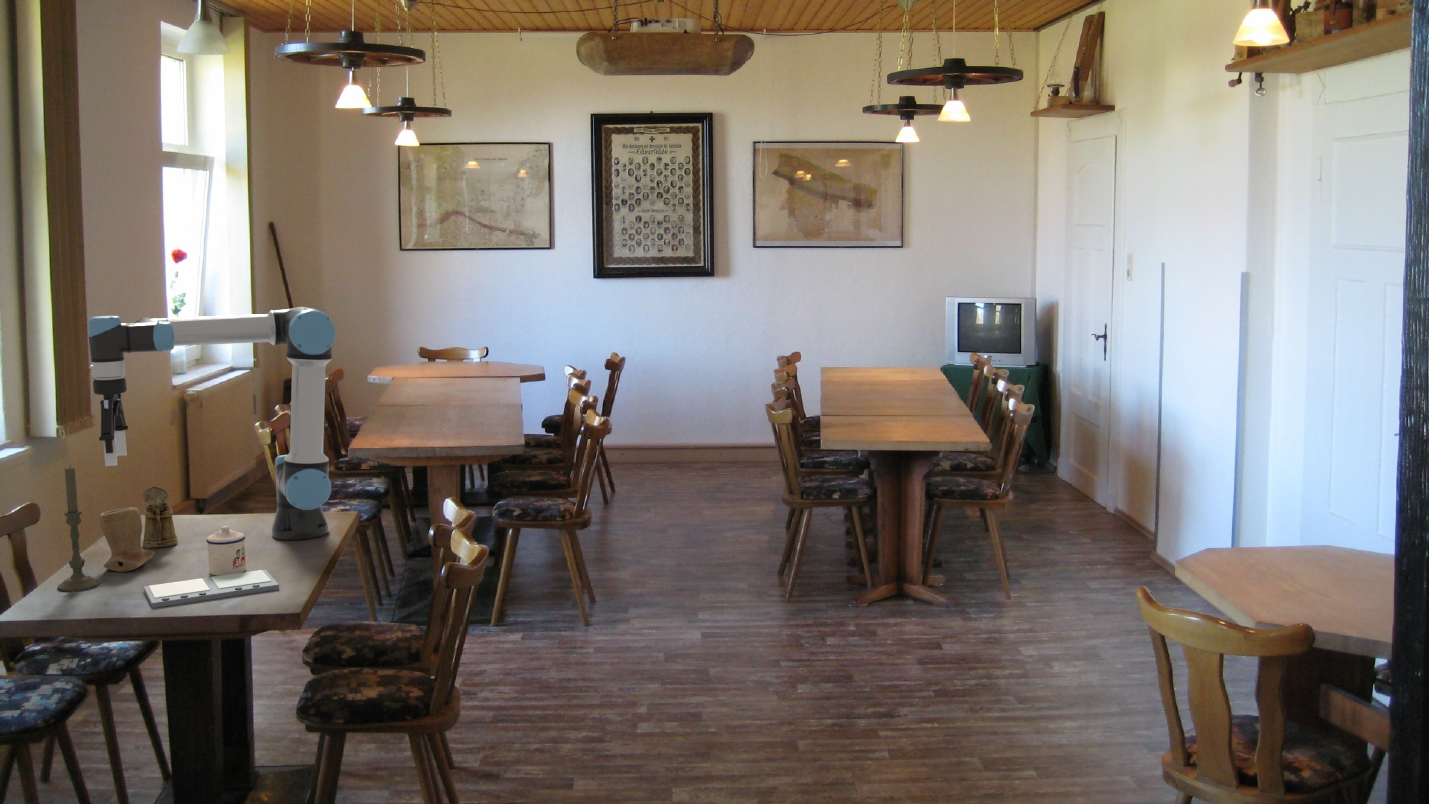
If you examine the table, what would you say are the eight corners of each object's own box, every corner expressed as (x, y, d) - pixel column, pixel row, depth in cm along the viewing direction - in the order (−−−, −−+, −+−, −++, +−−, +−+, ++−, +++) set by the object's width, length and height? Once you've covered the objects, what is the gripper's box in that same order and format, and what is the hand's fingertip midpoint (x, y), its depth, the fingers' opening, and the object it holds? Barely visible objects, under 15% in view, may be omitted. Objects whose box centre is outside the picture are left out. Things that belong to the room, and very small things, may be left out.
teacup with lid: (240, 576, 308) (237, 530, 306) (203, 576, 307) (200, 531, 305) (255, 563, 319) (252, 519, 318) (219, 563, 319) (216, 519, 317)
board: (265, 574, 309) (265, 568, 309) (279, 589, 297) (278, 583, 296) (144, 591, 295) (143, 585, 295) (152, 608, 282) (152, 602, 282)
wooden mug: (139, 554, 328) (135, 488, 325) (143, 542, 341) (139, 478, 338) (176, 551, 331) (171, 485, 328) (178, 539, 344) (174, 476, 341)
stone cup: (113, 558, 324) (109, 502, 322) (160, 557, 325) (156, 501, 323) (90, 574, 309) (86, 516, 307) (140, 573, 310) (135, 515, 308)
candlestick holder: (102, 587, 298) (93, 466, 294) (60, 594, 293) (50, 470, 288) (96, 578, 305) (87, 460, 301) (54, 585, 300) (45, 464, 296)
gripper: (102, 372, 320) (109, 452, 324) (82, 384, 297) (90, 471, 300) (133, 371, 322) (140, 450, 326) (116, 383, 299) (123, 468, 302)
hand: (116, 460), depth 313 cm, fingers open, 13 cm apart
